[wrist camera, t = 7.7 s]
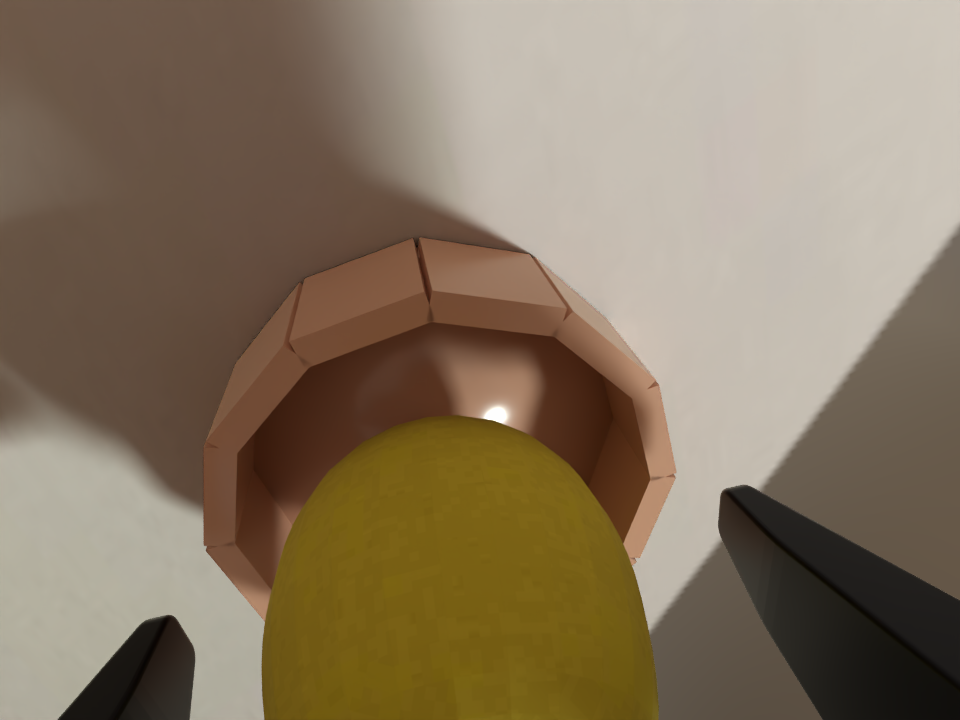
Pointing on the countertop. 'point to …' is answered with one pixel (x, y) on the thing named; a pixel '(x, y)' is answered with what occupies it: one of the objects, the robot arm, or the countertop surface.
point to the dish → (425, 390)
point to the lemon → (455, 588)
